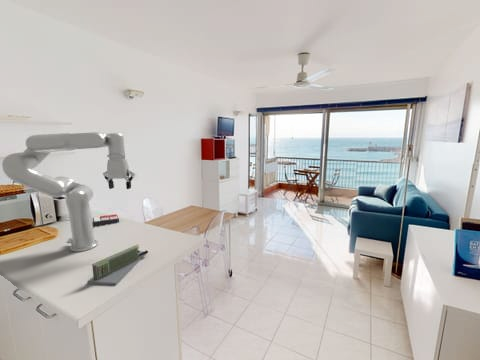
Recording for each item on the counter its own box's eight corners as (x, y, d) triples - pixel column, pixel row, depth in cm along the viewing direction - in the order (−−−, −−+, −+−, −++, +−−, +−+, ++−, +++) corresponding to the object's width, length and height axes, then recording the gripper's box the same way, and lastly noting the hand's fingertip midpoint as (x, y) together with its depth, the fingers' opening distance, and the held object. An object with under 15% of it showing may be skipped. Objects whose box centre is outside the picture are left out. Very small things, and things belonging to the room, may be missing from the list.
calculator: (119, 217, 161) (93, 221, 153) (119, 223, 162) (93, 227, 154) (116, 213, 170) (92, 216, 162) (117, 219, 171) (92, 222, 163)
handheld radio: (92, 278, 96) (145, 252, 117) (96, 280, 94) (149, 254, 115) (90, 263, 94) (144, 240, 115) (95, 265, 93) (149, 242, 114)
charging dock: (87, 283, 94) (87, 281, 93) (124, 252, 119) (123, 250, 119) (116, 285, 93) (116, 282, 92) (146, 253, 118) (146, 251, 118)
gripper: (96, 157, 121) (100, 189, 124) (129, 157, 120) (131, 190, 123) (106, 156, 128) (109, 186, 131) (136, 156, 127) (139, 187, 130)
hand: (120, 188), depth 127 cm, fingers open, 9 cm apart
